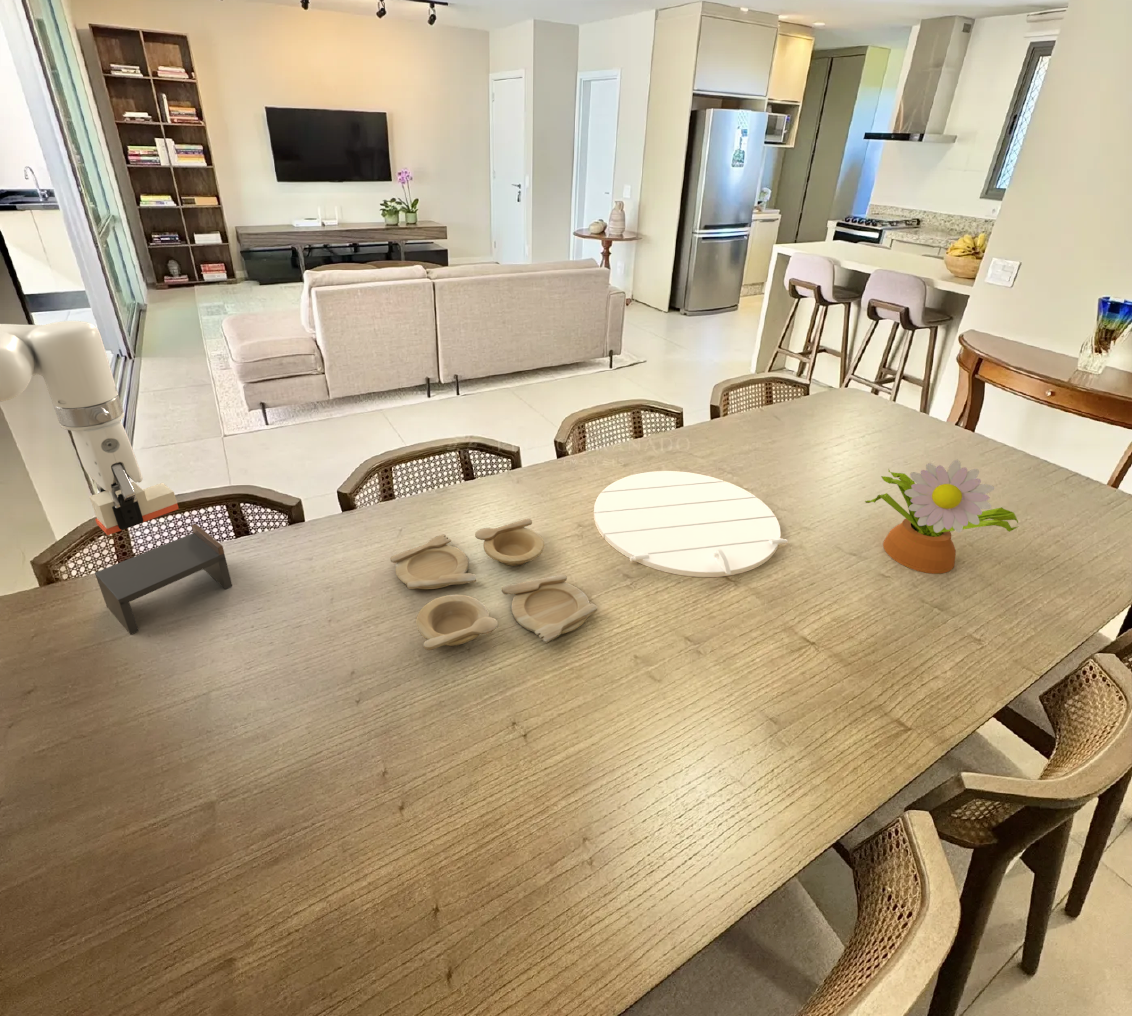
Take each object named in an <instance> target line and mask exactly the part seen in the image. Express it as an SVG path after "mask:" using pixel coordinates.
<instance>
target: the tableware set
mask: <svg viewBox="0 0 1132 1016" xmlns="http://www.w3.org/2000/svg"><path fill="white" fill-rule="evenodd" d="M532 524H533V520H532V519H531V518H524V519H521V520H518V521H515V522H512V523H508V524H504V525H503V526H499V527H495V528H494V527H483V528H480V529H478V530H476V531H475V533H474V537H475V539H477V540H481V541H483V550H484V552H485V554H486V555H487V557H489V558H490V559H493V560H494V561H495V562H499V563H501V564H503V565H506V566H510V567H516V566H517V567H518V566H522V565H524V564H526V563H527V562H530V561H533V560H535V559H537V558H538V557H540V555H541V554H542V553H543V551H544V548H545V541H544V539H543V537H542V536H541V535H540V534H539V533H538V532H537V531H535V530H533V529H530V528H527V527H529V526H531V525H532ZM451 542H452V539H450V538H449V537H448V536H446V534H444V533H442V534H440V535H437V536H434V537H432V538H430V540H429V541H428V542H427V543H425V544H423V545H419V546H417V547H414V548H412V549H411V548H410V549H408V550H405V551H402V552H398V553H396V554H394V555H391V557H389V558H390V562H391V563H393V564H395V569H394V570H395V575H396V577H397V579H398V580H400V582H401V583H403V584H405V585H406V588H407V589H408V590H415V589H417V590H418V589H420V590H434V589H435V590H436V589H442V588H445V587H449V586H451V585H463V584H474V583H476V582H477V576H476V574H474V573H472V572H468V569H469V565H470V564H469V563H470V562H469V558H468V556H467V555H466V553H465V552H464V551H462V550H461V549H460V548H458V547H456V546H453V545H450V544H449V543H451ZM467 572H468V573H467ZM567 580H568V576H567V575H566V574H557V575H552V576H547V577H542V578H537V579H532V580H527V581H522V582H518V583H512V584H506V585H502V586H500V590H501V592H502V594H504V595H514V596H513V599H512V600H511V607H510V608H511V614H512V616H513V618H514V620H515V621H516V623H518V624H519V626H521V627H522V628H524V629H526V630H527V631H529V632H532V633H534V634H535V635H536V636H538V638H539V639H542V641H543V642H544V643H545V644H547V643H549V642H551V641H553V640H555V639H556V638H559V637H560V635H563V634H566V633H570V632H572V631H575V630H576V629H578V628H579V627H581V626H582V625H583V624H585V622H586V621H587V619H588V617H590V616H591V615H593V614H595V613H596V612H597V611H598V605H596V604H595V603H592V602H591V603H590V600H589V598H588V596H587V594H586V593H585V592H583V590H582V589H580V588H578V587H577V586H575V585H573V584H571V583H567ZM498 623H499V621H498V620H497V619H496V618H494V617H492V616H490V613H489V610H488V608H487V607H486V605H485V604H484V603H483V602H482V601H480V600H478V599H477V598H475V597H472V596H469V595H464V594H449V595H448V594H447V595H443V596H439V597H436V598H434V599H432V600H430V601H429V602H428V603H426V604H425V605H424V606H422V608H421V609H420V610H419V612H418V614H417V616H416V620H415V624H416V628H417V631H418V632H419V634H420V636H422V637H423V638H424V639H425V641H424V642H423V649H425V650H426V651H432V650H435V649H438V648H440V647H443V646H447V647H456V646H461V645H463V644H465V643H468V642H471V641H473V640H475V639H476V638H478V637H480V635H482V636H483V635H488V634H491V633H493V632H494V631H495V630H497V628H498V625H499V624H498Z"/></svg>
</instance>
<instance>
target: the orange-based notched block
mask: <svg viewBox="0 0 1132 1016" xmlns="http://www.w3.org/2000/svg"><path fill="white" fill-rule="evenodd" d="M130 482H131V485H132V487H133V490H134V492H135V495H136V498H137V500H138V504H139V507H140V510H141V513H142V517H143V520H144V521H143V522H142V523H145V522H148V521H150V520H153V519H156V518H158V517H160V516H164V515H167V514H169V513H171V512H174V511H178V510H180V508H179V505H178V502H177V497H176V494H175V491H174V490H173V489H172V488H170V487H169V486H167V484H166V483H164V482H161V483H157V484H154V485H152V486H148V487H146V488H142V487H140V486H139V485H138V484H137V482H134V481H130ZM115 493H116V495H117V498H118V495H119V494H121V490H118V491H115ZM88 497H89V500H90V503H91V506H92V509H93V512H94V515H95V519H94V521H95V523H96V525H97V526H98V527H99V528H100V529H101V531H103V532H104V533H105V534H106V536H110V535H113V534H115V533H118V532H121V531H122V530H121V529H120V528H119V527H118V524H117V521H116V518H115V515H114V512H113V509H112V507H113V506H114V504H113V501H112V499H111V496H110V494H109V491H103V492H97V493H95V494H91V495H89V496H88Z"/></svg>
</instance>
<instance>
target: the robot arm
mask: <svg viewBox="0 0 1132 1016" xmlns="http://www.w3.org/2000/svg"><path fill="white" fill-rule="evenodd" d="M37 375H39V376H41V377H42V378H43V380H44V383H45V385H46V388H47V392H48V394H49V397H50V400H51V403H52V406H53V408H54V411H55V415H56V417H57V420H58V423H59V426H60V428H61V429H64V430H67V431H70V432H71V435H72V438H73V442H74V445H75V448H76V451H77V454H78V456H79V460H80V462H81V465H82V466H83V469H84V471H85V473H86V475H88V476H89V477H90V478H91V479H92V480H93V481H94V482H95V484H96V490H97V491H98V493H100V492H103V491H109V494H110V496H111V499H112V501H113V504H114V506H113V507H112V509H113V512H114V515H115V518H116V521H117V524H118V527H119V528H120V529H121V531H124V530H127V529H130V528H132V527H135V526H138V525H140V524H142V523H144V522H143V521H144V520H143V517H142V513H141V510H140V507H139V504H138V500H137V498H136V495H135V492H134V490H133V487H132V485H131V482H135V483H142V481H143V480H144V479H143V478H144V477H143V474H142V471H141V468H140V466H139V463H138V460H137V458H136V455H135V452H134V449H133V447H132V444H131V440H130V439H129V436H128V434H127V431H126V429H125V427H124V425H123V423H122V421H121V420H122V419H123V418H124V417H125V412H124V408H123V406H122V405H123V404H122V402H121V399H120V395H119V393H118V388H117V385H116V382H115V379H114V376H113V372H112V369H111V365H110V362H109V358H108V355H107V351H106V348H105V345H104V342H103V339H102V335H101V333H100V330H99V328H98V327H96V325H95V324H92V323H91V322H87V321H82V320H62V321H55V322H49V323H46V324H18V323H17V324H15V323H0V403H1V402H6V401H9V400H12V399H14V398H17V397H18V396H20V395H21V394H22V393H23V392H25V391H26V390H27V388H28V386H29V384H30V382H31V380H32V378H33V377H34V376H37ZM130 479H131V480H132V481H131V480H130ZM118 490H121V494H119V495H118V498H117V495H116V493H115V491H118Z"/></svg>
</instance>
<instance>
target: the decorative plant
mask: <svg viewBox="0 0 1132 1016" xmlns="http://www.w3.org/2000/svg"><path fill="white" fill-rule="evenodd" d="M961 463H962V462H961V461H960V460H959V459H954V460H953V461H952V462H951V463H950V465H949V466H948V468H947V470H946V468H945V467H944V466H943V465H941V464H939V465H937V466H936V465H934V464H933V463H930V462H928V463H926V465H925V469H921V470H920V473H919V472H916V471H911V472H910V473H909V476H908V475H907V474H906V473H905V472H894V471H893V472H892V471H890V469H888V473H890V474H891V476H892V477H891V476H885V475H881V476H880V477H881V479H882V480H883V482H885V483H887V484H893V485H897V487H898V489H899V491H900V493H901V495H902V497H903V498H904V500H905V501H904V502H906V505H907V509H908V511H907V510H905V508H903V506H901V505H900V503H898V502H897V501H896V500H895V499H894V498H893V497H892V496H891V495H890V494H889V493H888V492H886V493H883V494H877V496H876V497H875V498H873V499H869V500H865V501H864V503H865V504H871V503H875V504H876V502H877V501H879V500H881V499H882V500H883V501H884V502H885V503H887V504H888V505H889V506H890V507H891V508H893V509H894V510H895V511H896V512H897V513H899V514H900V515H901V516H903V517H904V519H903V520H902V522H901V523H899V524H897V525H895V526H893V528H891V529H890V531H889V532H888V534H887V535H886V537H885V538H884V540H883V543H882V547H883V549H884V552H885V553H886V554H887V555H888V556H889V557H890V558H891V559H892V560H894V561H895V562H897V563H899V564H900V565H902V566H903V567H906V568H908V569H911V570H914V571H917V572H921V573H926V574H932V575H938V574H939V575H941V574H946V573H947V572H948V573H949V572H950V571H952V570H953V569H954V568H955V562H956V553H957V551H956V547H955V544H954V541H953V539H952V532H954V531H955V532H957V533H961V532H962V531H963V530H968V529H976V528H982V527H991V526H992V527H993V526H996V527H1001V528H1003V529H1006V531H1007V532H1012V531H1014V530H1015V529H1017V528H1019V527H1020V526H1013V527H1012V526H1011V525H1010V523H1009V522H1008V521H1016V523H1017V524H1019V520H1018V518H1017V515H1016V513H1015V512H1013V511H1011V510H1008V509H1005V508H1004V507H1003V506H1002V507H1001V506H1000V507H997V508H992V504H991V503H990V502H988V501H989V500H990V496H989V495H988V494H990V493H991V492H993V491H994V490H995V489H996V488H995V486H994V485H992V484H987V483H982V479H981V478H978V476H979V474H980V470H979V469H978V468H973V469H971V470H968V468H967V467H965V466H963V467H962V464H961ZM894 478H895V479H894ZM981 483H982V484H981ZM991 508H992V509H991Z"/></svg>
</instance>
